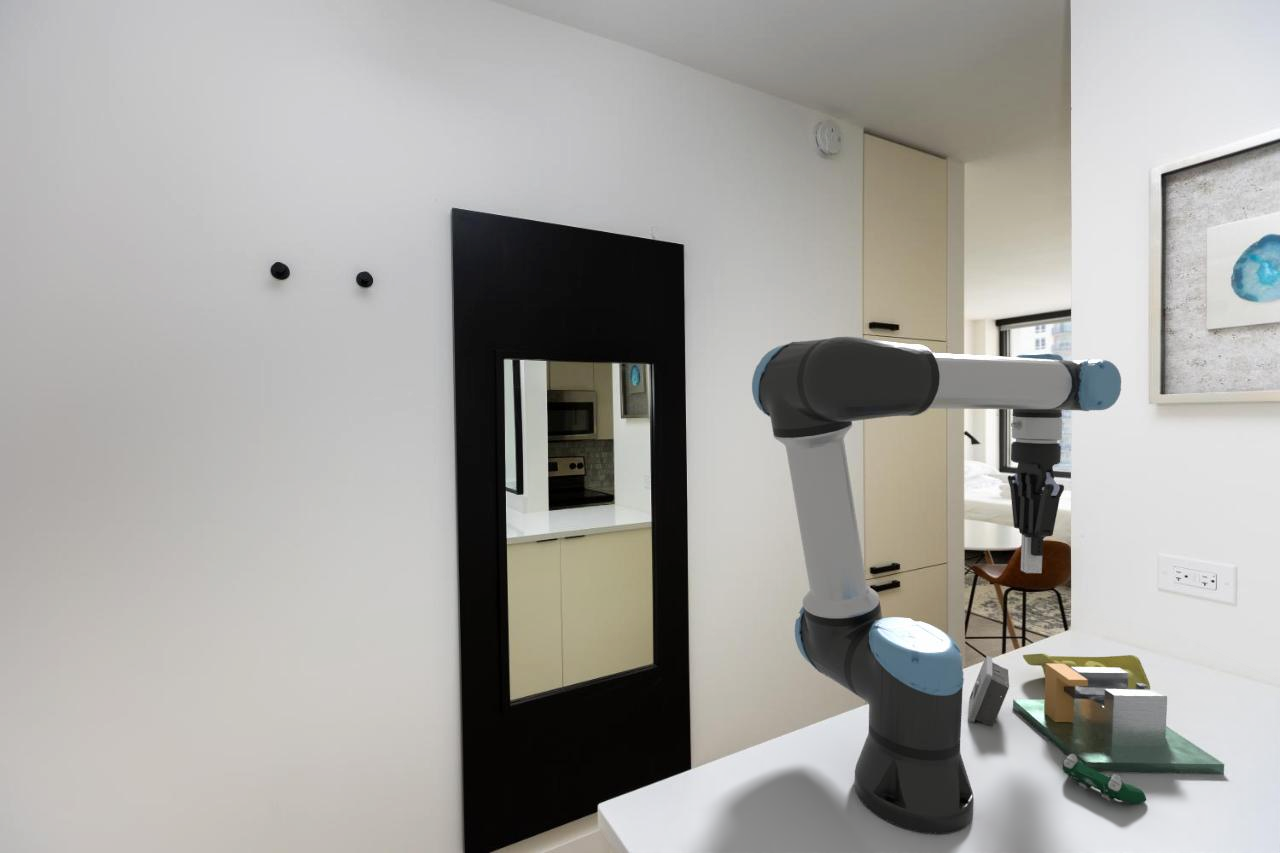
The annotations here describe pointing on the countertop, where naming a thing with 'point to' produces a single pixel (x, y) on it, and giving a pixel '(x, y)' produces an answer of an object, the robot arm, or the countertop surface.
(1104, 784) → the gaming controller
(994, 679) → the electrical switch
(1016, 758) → the countertop surface
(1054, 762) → the countertop surface
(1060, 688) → the block
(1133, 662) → the plastic component
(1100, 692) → the strap
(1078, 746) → the green mounting baseplate
